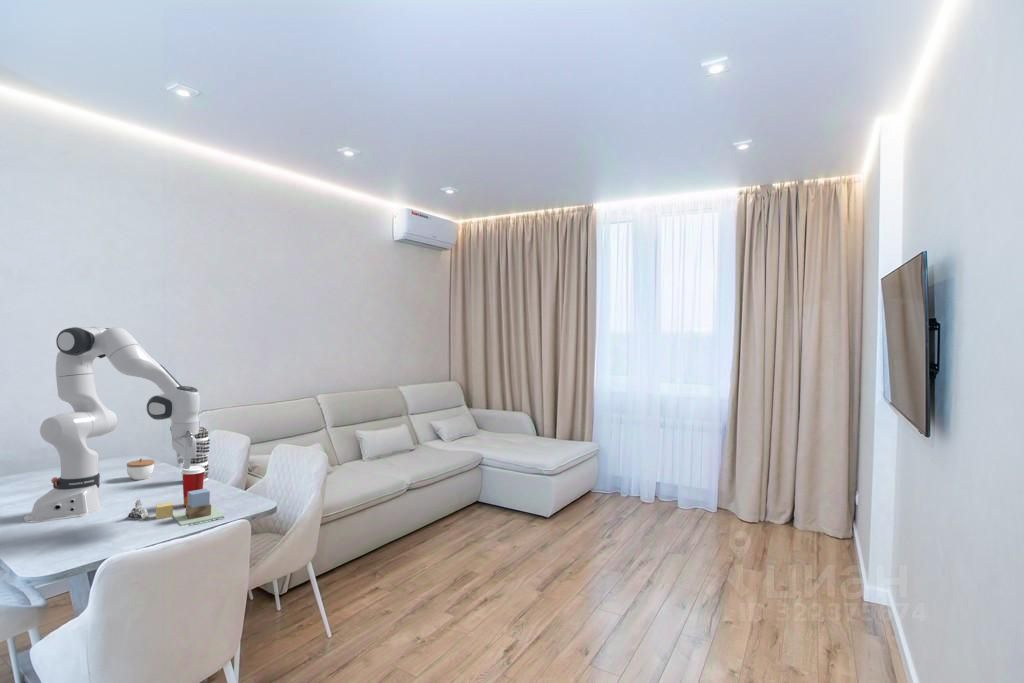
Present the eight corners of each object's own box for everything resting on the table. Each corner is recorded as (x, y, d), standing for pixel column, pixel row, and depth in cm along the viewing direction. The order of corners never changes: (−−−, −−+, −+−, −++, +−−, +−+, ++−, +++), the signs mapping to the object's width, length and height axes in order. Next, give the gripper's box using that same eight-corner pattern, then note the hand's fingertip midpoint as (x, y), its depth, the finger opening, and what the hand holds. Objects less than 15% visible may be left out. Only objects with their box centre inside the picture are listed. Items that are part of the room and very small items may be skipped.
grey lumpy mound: (165, 515, 193) (165, 495, 193) (144, 523, 185) (144, 502, 185) (146, 513, 195) (146, 493, 195) (124, 521, 187) (125, 500, 187)
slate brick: (191, 508, 187) (191, 494, 187) (187, 504, 190) (187, 491, 190) (209, 504, 192) (209, 491, 192) (205, 501, 195) (205, 488, 195)
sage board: (180, 527, 181) (181, 524, 181) (172, 517, 191) (172, 514, 191) (224, 518, 191) (224, 515, 191) (213, 509, 201) (213, 506, 201)
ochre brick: (156, 521, 187) (156, 507, 187) (155, 517, 190) (155, 504, 190) (172, 518, 190) (172, 505, 190) (171, 515, 193) (171, 502, 193)
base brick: (189, 519, 186) (189, 508, 186) (185, 515, 191) (185, 504, 191) (210, 515, 191) (211, 504, 191) (206, 511, 196) (206, 500, 196)
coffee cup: (201, 500, 211) (202, 464, 211) (206, 505, 205) (207, 468, 205) (178, 504, 205) (178, 467, 205) (182, 509, 199) (183, 471, 199)
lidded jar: (122, 478, 239) (123, 459, 239) (148, 474, 248) (149, 455, 248) (131, 482, 233) (131, 462, 233) (158, 477, 242) (158, 458, 242)
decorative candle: (207, 482, 237) (208, 429, 236) (184, 483, 233) (185, 430, 233) (210, 477, 245) (212, 425, 245) (188, 478, 242) (189, 426, 242)
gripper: (202, 433, 185) (200, 470, 185) (188, 424, 200) (186, 459, 200) (181, 435, 181) (180, 473, 181) (169, 425, 195) (167, 461, 195)
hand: (183, 465), depth 190 cm, fingers open, 8 cm apart
